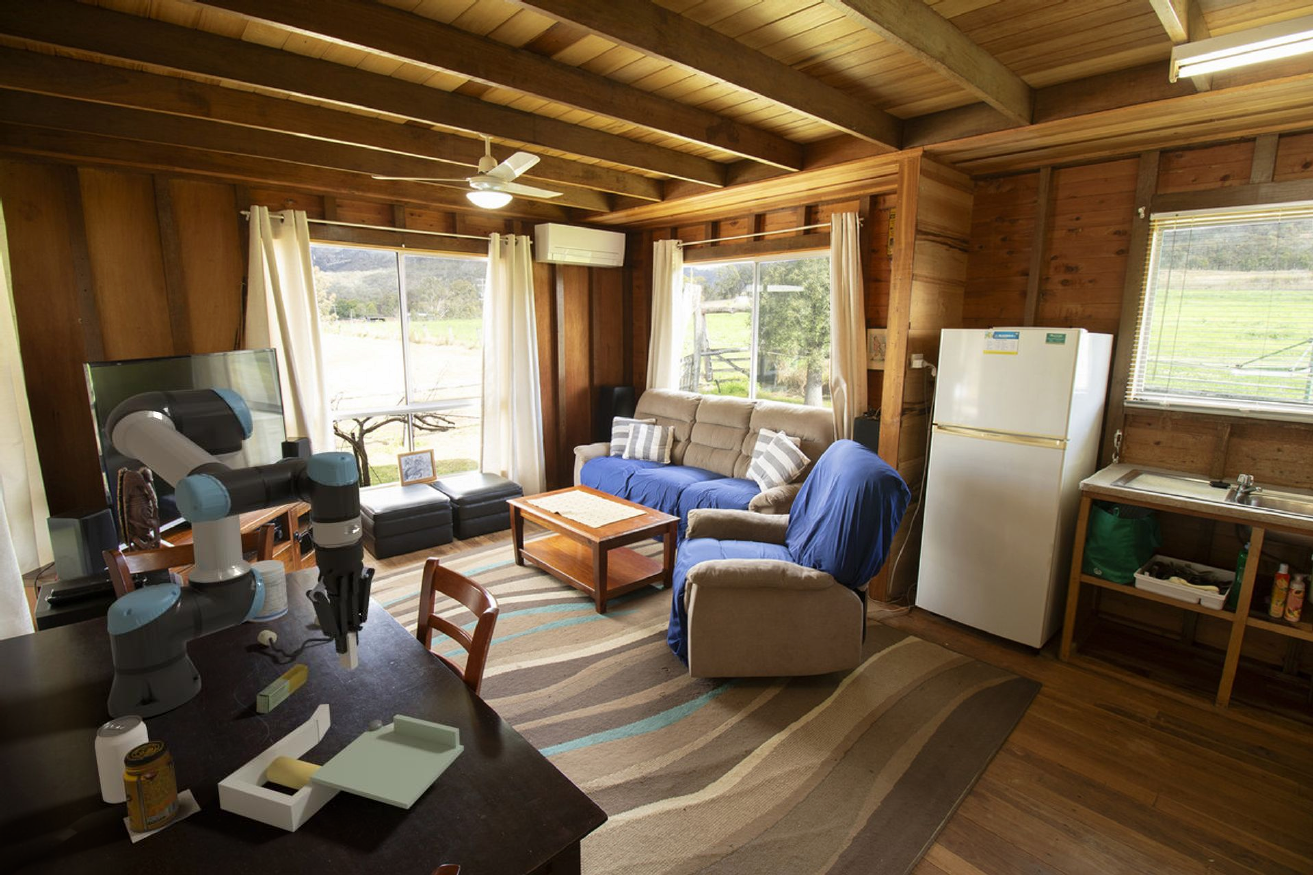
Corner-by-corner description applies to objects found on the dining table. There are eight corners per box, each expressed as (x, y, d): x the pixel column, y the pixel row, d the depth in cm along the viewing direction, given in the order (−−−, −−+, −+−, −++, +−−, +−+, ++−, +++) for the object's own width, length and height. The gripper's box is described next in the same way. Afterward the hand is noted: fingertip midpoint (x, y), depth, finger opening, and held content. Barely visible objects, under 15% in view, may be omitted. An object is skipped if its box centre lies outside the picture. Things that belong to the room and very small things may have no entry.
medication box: (267, 714, 123) (267, 697, 122) (255, 712, 123) (255, 694, 122) (307, 680, 134) (307, 664, 134) (296, 678, 135) (296, 662, 134)
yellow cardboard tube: (277, 752, 104) (291, 759, 107) (262, 777, 102) (276, 784, 105) (323, 765, 101) (336, 771, 104) (308, 791, 99) (322, 797, 102)
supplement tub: (240, 619, 163) (234, 567, 161) (276, 606, 171) (272, 556, 169) (258, 628, 158) (253, 575, 156) (295, 614, 166) (291, 563, 164)
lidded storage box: (303, 835, 93) (301, 809, 92) (211, 805, 98) (208, 780, 98) (405, 743, 114) (404, 721, 113) (324, 723, 120) (322, 702, 119)
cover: (407, 809, 92) (406, 786, 91) (307, 779, 98) (305, 758, 97) (465, 747, 106) (465, 727, 105) (374, 725, 112) (373, 706, 111)
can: (124, 807, 98) (114, 740, 96) (92, 801, 99) (82, 735, 97) (163, 779, 104) (155, 716, 102) (133, 774, 105) (124, 711, 103)
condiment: (123, 819, 95) (113, 751, 93) (189, 789, 102) (180, 725, 100) (133, 844, 91) (122, 772, 89) (201, 811, 97) (193, 744, 95)
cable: (354, 637, 152) (353, 624, 152) (283, 663, 139) (282, 648, 139) (325, 621, 161) (324, 609, 161) (256, 643, 149) (255, 630, 148)
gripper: (323, 555, 98) (334, 689, 102) (384, 532, 110) (392, 652, 114) (289, 550, 101) (301, 681, 104) (352, 528, 113) (361, 646, 116)
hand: (349, 666), depth 109 cm, fingers closed
